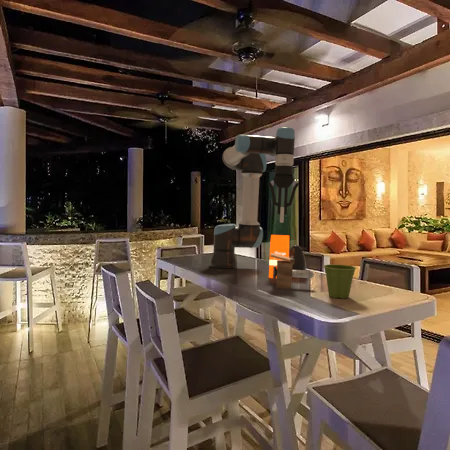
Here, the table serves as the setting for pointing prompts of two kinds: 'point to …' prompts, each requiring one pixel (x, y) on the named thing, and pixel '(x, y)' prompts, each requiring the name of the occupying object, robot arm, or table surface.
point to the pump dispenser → (298, 257)
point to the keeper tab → (280, 257)
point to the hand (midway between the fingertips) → (281, 222)
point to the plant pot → (339, 280)
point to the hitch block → (284, 273)
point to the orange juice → (278, 250)
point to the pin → (296, 273)
